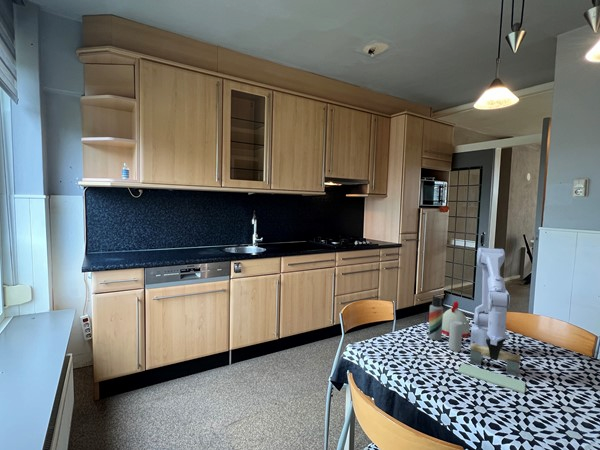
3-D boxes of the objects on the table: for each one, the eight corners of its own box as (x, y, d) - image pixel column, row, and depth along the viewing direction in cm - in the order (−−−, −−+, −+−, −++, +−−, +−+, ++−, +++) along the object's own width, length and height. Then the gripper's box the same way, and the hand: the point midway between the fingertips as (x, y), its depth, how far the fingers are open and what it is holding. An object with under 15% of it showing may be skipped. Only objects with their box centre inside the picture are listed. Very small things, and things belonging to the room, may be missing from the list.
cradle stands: (469, 362, 121) (470, 349, 121) (472, 358, 125) (472, 345, 125) (518, 377, 112) (519, 363, 111) (518, 371, 116) (519, 358, 115)
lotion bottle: (425, 335, 147) (428, 294, 146) (437, 335, 147) (439, 294, 146) (432, 340, 141) (434, 297, 140) (443, 340, 142) (446, 298, 140)
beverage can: (462, 353, 130) (464, 325, 129) (450, 351, 131) (451, 323, 130) (459, 348, 134) (460, 321, 134) (447, 346, 135) (448, 320, 135)
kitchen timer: (472, 332, 153) (474, 302, 152) (464, 340, 143) (466, 308, 142) (443, 324, 163) (445, 296, 162) (434, 331, 153) (435, 301, 152)
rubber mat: (457, 372, 114) (457, 371, 114) (462, 364, 120) (462, 362, 120) (524, 393, 101) (524, 392, 101) (525, 383, 108) (525, 382, 108)
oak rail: (470, 351, 122) (470, 345, 122) (471, 349, 124) (472, 343, 124) (519, 365, 112) (520, 358, 112) (520, 362, 115) (520, 355, 114)
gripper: (507, 331, 109) (505, 368, 110) (510, 320, 121) (508, 353, 122) (484, 325, 114) (482, 361, 114) (490, 315, 125) (487, 348, 126)
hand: (494, 357), depth 118 cm, fingers open, 4 cm apart
